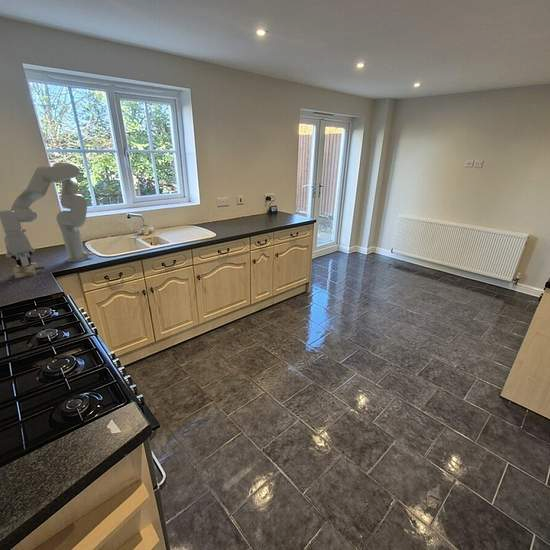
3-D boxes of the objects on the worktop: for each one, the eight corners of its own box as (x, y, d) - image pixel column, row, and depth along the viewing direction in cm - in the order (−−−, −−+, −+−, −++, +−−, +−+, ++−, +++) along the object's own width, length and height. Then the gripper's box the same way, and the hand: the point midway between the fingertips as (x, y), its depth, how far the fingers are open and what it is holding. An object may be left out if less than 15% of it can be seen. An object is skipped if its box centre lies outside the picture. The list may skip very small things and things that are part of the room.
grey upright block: (26, 266, 173) (22, 251, 170) (31, 268, 170) (27, 253, 167) (19, 268, 170) (14, 253, 167) (24, 270, 168) (19, 254, 164)
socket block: (46, 269, 179) (44, 261, 177) (43, 274, 171) (41, 265, 169) (19, 272, 173) (17, 264, 172) (15, 277, 166) (12, 269, 164)
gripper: (28, 229, 171) (38, 259, 178) (-8, 235, 158) (3, 268, 165) (35, 231, 168) (44, 261, 174) (-2, 237, 154) (10, 270, 161)
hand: (24, 264), depth 169 cm, fingers closed on grey upright block, 3 cm apart
